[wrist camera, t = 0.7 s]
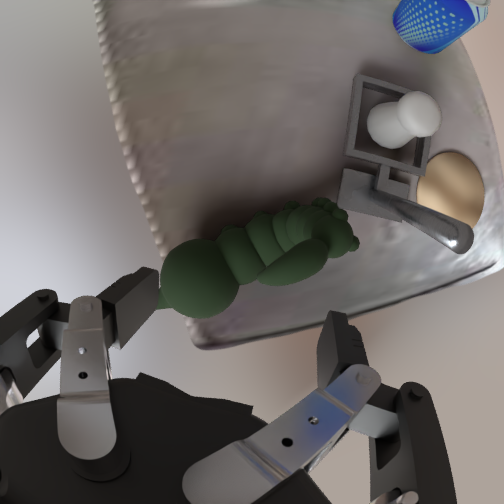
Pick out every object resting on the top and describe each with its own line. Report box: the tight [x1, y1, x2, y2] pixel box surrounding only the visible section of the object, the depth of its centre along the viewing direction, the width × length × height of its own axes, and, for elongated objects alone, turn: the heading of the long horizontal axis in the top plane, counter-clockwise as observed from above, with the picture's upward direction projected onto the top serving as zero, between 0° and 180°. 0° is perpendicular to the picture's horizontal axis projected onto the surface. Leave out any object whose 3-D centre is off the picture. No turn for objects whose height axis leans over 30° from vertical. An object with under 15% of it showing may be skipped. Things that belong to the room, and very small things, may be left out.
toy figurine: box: [156, 198, 360, 318], centre depth 30 cm, size 9×19×25 cm
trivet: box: [416, 152, 484, 229], centre depth 31 cm, size 12×12×1 cm
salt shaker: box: [367, 91, 442, 149], centre depth 24 cm, size 6×6×13 cm
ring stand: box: [337, 73, 474, 254], centre depth 21 cm, size 16×10×22 cm, turn 171°
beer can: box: [393, 0, 490, 54], centre depth 17 cm, size 8×8×16 cm
